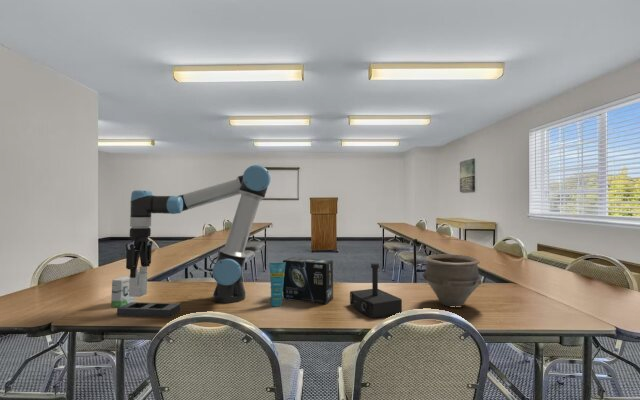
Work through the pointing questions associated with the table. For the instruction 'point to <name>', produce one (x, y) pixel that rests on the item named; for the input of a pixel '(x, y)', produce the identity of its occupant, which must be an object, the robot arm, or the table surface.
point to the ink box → (121, 292)
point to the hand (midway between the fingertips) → (138, 283)
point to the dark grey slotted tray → (149, 309)
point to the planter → (452, 277)
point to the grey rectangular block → (139, 286)
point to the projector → (375, 299)
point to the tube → (277, 282)
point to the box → (308, 280)
